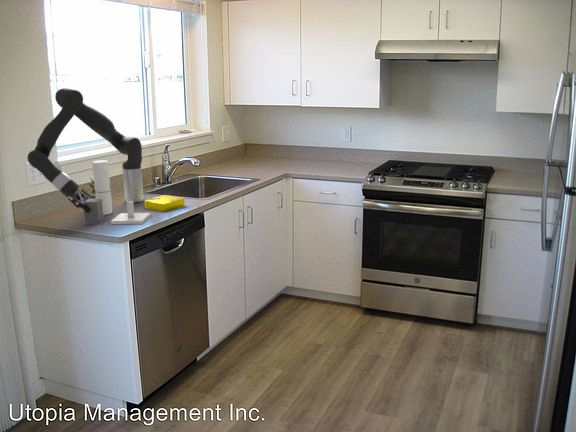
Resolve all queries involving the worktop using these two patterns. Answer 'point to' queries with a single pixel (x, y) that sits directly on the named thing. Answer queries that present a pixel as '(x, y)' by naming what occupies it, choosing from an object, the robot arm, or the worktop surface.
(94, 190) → the house plant
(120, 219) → the stud plate
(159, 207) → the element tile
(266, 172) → the worktop surface
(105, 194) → the cylindrical container
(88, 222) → the tall grey pillar
